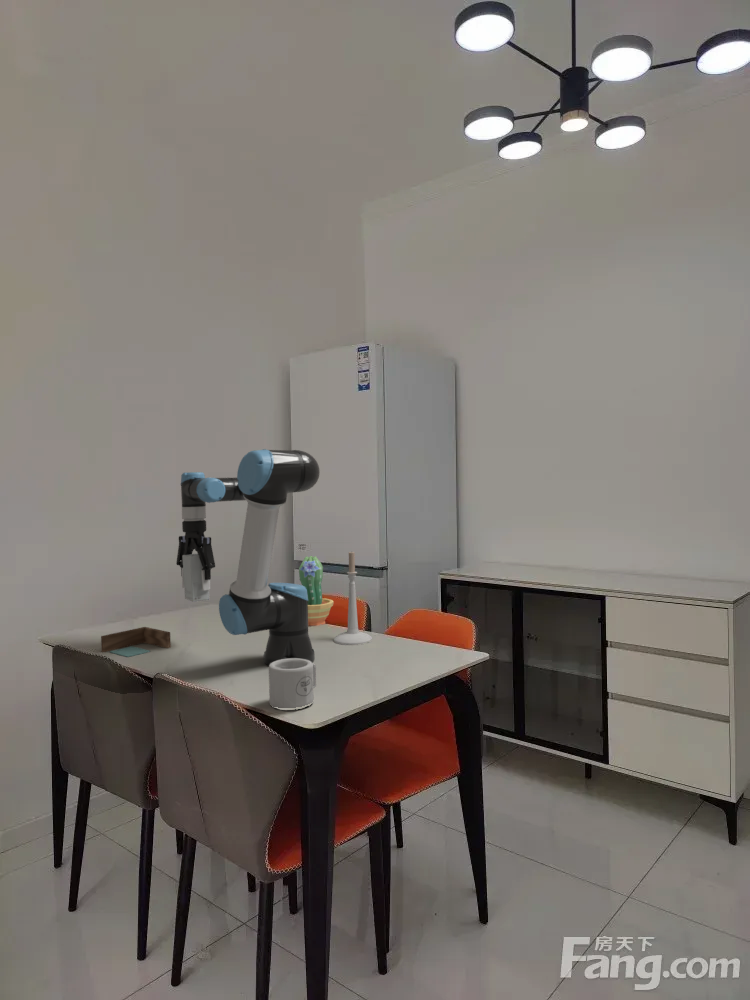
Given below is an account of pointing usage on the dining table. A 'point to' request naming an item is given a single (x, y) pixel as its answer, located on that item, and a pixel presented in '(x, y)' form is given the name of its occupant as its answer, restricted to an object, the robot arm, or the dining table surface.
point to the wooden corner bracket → (135, 638)
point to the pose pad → (129, 651)
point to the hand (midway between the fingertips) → (196, 588)
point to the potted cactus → (314, 590)
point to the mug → (291, 682)
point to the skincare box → (193, 578)
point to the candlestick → (352, 613)
